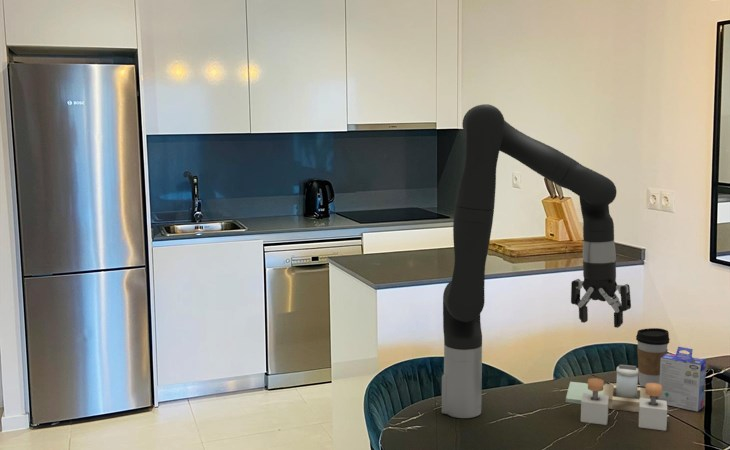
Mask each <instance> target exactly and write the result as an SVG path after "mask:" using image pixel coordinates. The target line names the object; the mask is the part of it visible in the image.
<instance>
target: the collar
mask: <svg viewBox="0 0 730 450" xmlns="http://www.w3.org/2000/svg"><path fill="white" fill-rule="evenodd" d="M604 385H605V386H604V393H603V395H606V396H609V404H608V410H617V411H625V412H631V413H632V412H633V413H639V399H640V398H646V399H651V396H650V395H647V394H646V393H645V391H646V387H640V386H639V387H638V386H637V399H632V398H623V397H616V384H611V383H604Z"/></svg>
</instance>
